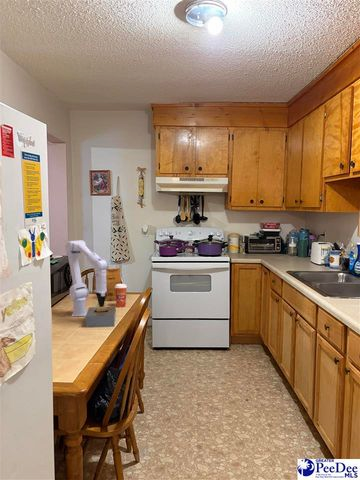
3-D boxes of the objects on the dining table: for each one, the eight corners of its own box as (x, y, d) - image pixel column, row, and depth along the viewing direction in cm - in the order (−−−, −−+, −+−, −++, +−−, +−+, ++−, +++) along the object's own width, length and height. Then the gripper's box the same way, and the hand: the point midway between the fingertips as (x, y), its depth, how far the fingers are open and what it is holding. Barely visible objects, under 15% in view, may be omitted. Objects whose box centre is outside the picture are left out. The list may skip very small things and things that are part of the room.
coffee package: (102, 298, 247) (101, 267, 245) (119, 297, 251) (119, 266, 249) (103, 301, 238) (103, 269, 236) (121, 300, 241) (121, 268, 239)
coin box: (89, 317, 203) (89, 307, 202) (115, 316, 205) (115, 306, 204) (85, 327, 186) (85, 316, 186) (114, 326, 188) (114, 315, 188)
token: (96, 310, 195) (96, 303, 195) (105, 310, 197) (105, 303, 196) (96, 311, 193) (96, 304, 193) (106, 311, 195) (105, 304, 195)
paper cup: (115, 308, 223) (115, 286, 222) (114, 304, 230) (114, 283, 229) (128, 307, 225) (128, 285, 224) (126, 304, 232) (126, 283, 231)
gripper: (92, 279, 199) (92, 303, 200) (95, 285, 185) (95, 310, 187) (104, 279, 201) (104, 302, 203) (108, 284, 188) (108, 309, 189)
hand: (101, 306), depth 195 cm, fingers closed on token, 2 cm apart
